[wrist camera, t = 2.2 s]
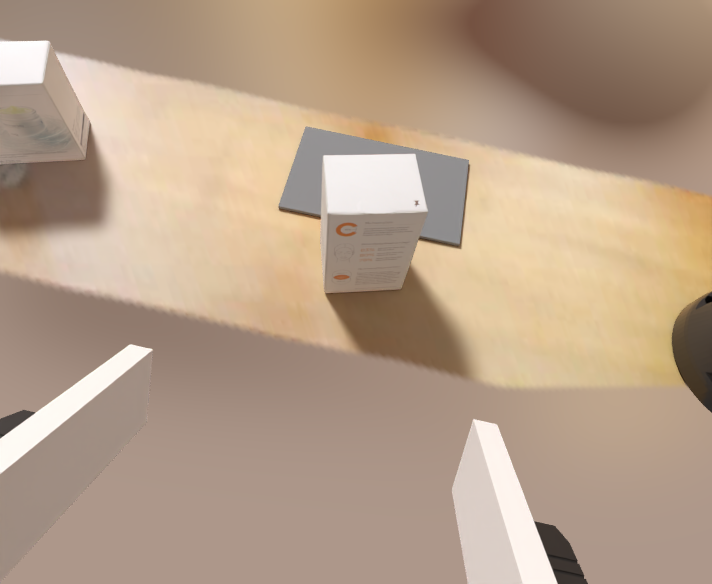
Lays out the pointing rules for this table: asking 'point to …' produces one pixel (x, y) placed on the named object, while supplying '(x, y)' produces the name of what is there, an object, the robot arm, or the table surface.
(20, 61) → the skincare box
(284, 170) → the table surface
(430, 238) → the mat
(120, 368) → the robot arm
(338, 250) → the small box
